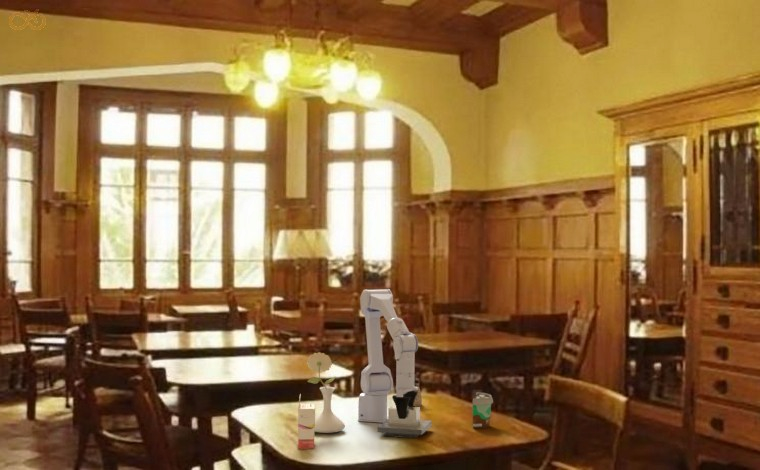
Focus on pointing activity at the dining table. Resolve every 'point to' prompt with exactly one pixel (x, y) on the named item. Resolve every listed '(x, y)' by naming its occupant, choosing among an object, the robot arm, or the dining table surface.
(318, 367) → the flower in vase
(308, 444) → the juice box
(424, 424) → the stand
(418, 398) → the figurine
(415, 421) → the block
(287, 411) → the dining table surface
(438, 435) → the dining table surface
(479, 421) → the food container
